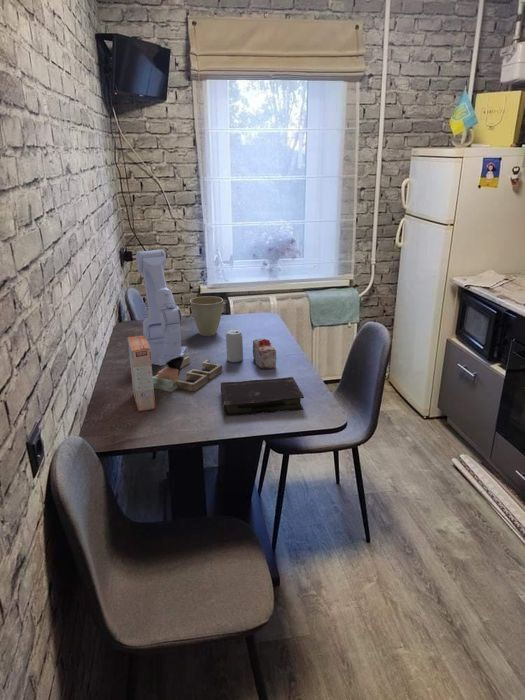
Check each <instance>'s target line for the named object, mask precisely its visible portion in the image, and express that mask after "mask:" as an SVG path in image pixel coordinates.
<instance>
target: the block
mask: <svg viewBox="0 0 525 700" xmlns="http://www.w3.org/2000/svg"><path fill="white" fill-rule="evenodd" d="M157 374H158V378H163V379H168V380H172V381H173V382H174V381H175V380H180V378H179V377H180V375H179V376H178V369H174V368H169V367H168V366H166V367H164V368H162V369H161V370H159V371H158V372H157Z"/></svg>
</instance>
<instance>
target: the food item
mask: <svg viewBox="0 0 525 700" xmlns="http://www.w3.org/2000/svg"><path fill="white" fill-rule="evenodd" d="M252 357H253V359H254V360H255V365H256V366H258V367H259V369H263V370H264V369H266V370H267V369H275V368H276V367H277V366H276V365H277V350H276V349H275V347H274V346H273V345H272V343H271V341H270V339H267V338H257V339H254V340H252Z"/></svg>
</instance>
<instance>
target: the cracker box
mask: <svg viewBox="0 0 525 700" xmlns="http://www.w3.org/2000/svg"><path fill="white" fill-rule="evenodd" d="M127 347H128V354H129V355H128V356H129V362H130V363H129V364H130V372H131V373H130V375H131V384H132V391H133V396H134V401H135V405H136V407H137V408H136V409H137V412H143V411H150V410H155V409H156V399H155V390H154V389H155V388H154V386H153V377H154V375H153V367H152V366H153V364H151V353H150V347H149V345H148V343H147V341H146V338H145V336H144V335H134V336H128V337H127Z"/></svg>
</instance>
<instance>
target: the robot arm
mask: <svg viewBox="0 0 525 700" xmlns="http://www.w3.org/2000/svg"><path fill="white" fill-rule="evenodd" d="M135 261H136V269H137V273H139V274H141V275H142V276H143V280H144V288H145V295H146V305H147V311H148V316H147V317H146V318H145V319H144V320H143V321H142V334H143V335H144V336H145V338H146V341H147V343H148V345H149V347H150V353H151V365H156V366H160V367H161V366H165V365H167V367H169V368H174V369H178V376H179V377H180V373H181V372H180V371H181V369H182V368H181V364H182V362H183V360H184V358H185V357H184V356H185V353H188V346H184V345H183V346H182V339H181V327H180V326H181V325H180V324H181V323H182V321H183V319H182V318H183V317H182V311H181V309H180V307H179V306H178V304H176V302H175V298H174V295H173V292H172V290H171V289H169V288H168V285H167V281H166V277H165V271H164V270H165V268H166V264H167V256H166V252H165V251H164V250H163V249H162V248H161V249H160V248H159V249H153V250H141V251H140V250H137V252H136V253H135ZM180 368H181V369H180Z"/></svg>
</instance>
